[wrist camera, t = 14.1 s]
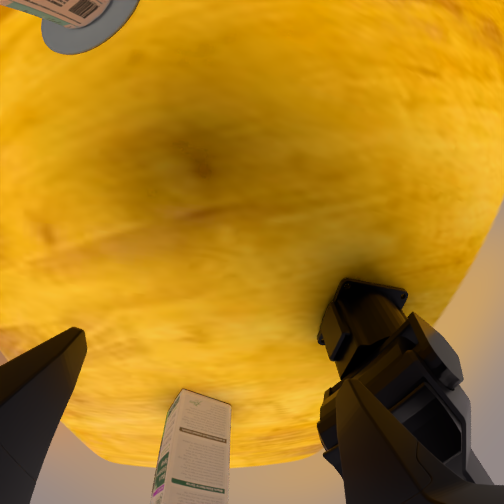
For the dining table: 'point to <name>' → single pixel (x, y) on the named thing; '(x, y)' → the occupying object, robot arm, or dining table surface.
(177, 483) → the syrup box
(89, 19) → the beer can
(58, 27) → the coaster
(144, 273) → the dining table surface
